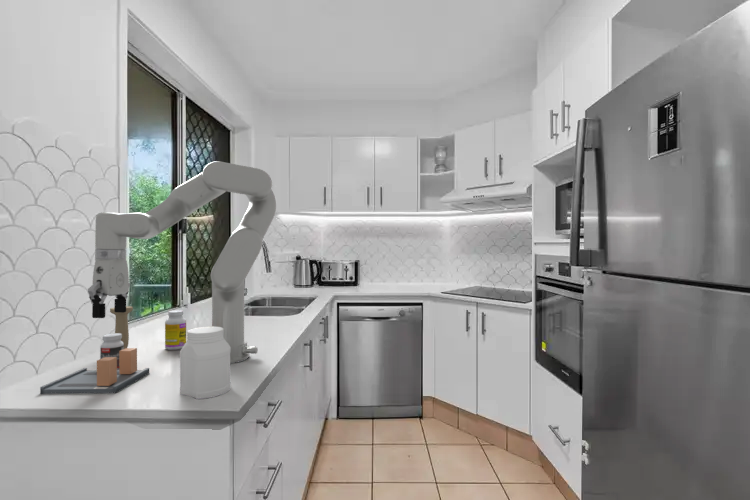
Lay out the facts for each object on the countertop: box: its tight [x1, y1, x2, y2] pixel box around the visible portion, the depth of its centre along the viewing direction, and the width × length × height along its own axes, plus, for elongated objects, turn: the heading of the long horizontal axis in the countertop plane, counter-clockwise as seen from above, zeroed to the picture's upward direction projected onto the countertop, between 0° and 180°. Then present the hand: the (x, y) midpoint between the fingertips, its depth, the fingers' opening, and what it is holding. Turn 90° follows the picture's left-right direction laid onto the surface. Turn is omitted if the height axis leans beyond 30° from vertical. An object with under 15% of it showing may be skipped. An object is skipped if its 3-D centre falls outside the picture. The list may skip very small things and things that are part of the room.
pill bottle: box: [99, 332, 124, 370], centre depth 117 cm, size 6×6×10 cm
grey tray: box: [39, 367, 150, 395], centre depth 106 cm, size 18×15×2 cm
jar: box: [179, 326, 232, 400], centre depth 100 cm, size 12×10×15 cm
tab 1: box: [96, 357, 117, 386], centre depth 101 cm, size 3×3×6 cm
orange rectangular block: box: [119, 347, 138, 374], centre depth 110 cm, size 3×3×6 cm
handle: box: [109, 305, 134, 349], centre depth 135 cm, size 5×6×15 cm
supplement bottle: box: [164, 309, 187, 351], centre depth 141 cm, size 7×7×13 cm
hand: (109, 314), depth 117 cm, fingers open, 9 cm apart
